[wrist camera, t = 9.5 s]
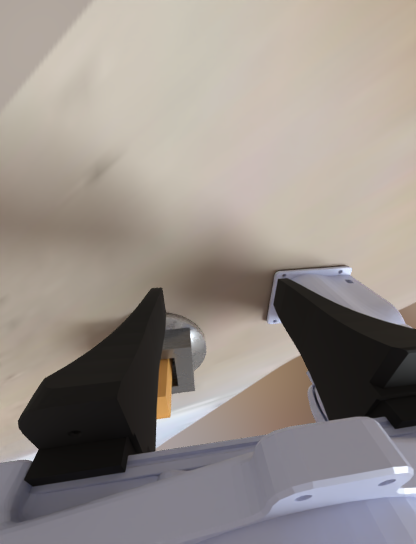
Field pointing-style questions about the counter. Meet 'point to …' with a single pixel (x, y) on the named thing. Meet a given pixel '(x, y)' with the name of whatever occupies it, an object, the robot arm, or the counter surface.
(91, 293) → the counter surface
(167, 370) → the tan rectangular prism
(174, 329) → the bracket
